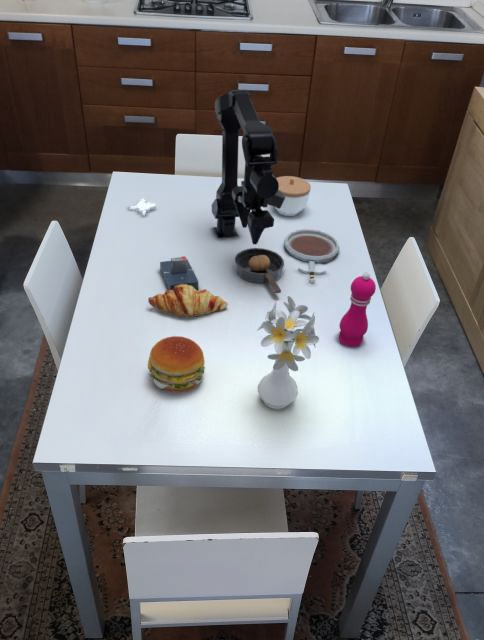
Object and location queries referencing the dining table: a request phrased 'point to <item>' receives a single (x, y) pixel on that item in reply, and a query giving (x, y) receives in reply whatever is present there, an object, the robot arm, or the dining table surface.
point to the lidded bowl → (293, 194)
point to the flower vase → (285, 352)
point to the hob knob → (179, 264)
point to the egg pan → (259, 276)
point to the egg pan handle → (272, 283)
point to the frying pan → (311, 248)
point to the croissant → (187, 301)
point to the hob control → (177, 276)
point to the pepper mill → (357, 311)
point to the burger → (176, 363)
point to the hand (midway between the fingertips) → (249, 235)
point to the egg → (259, 263)
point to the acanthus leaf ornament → (143, 207)
